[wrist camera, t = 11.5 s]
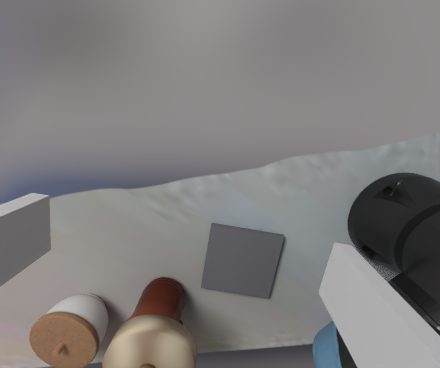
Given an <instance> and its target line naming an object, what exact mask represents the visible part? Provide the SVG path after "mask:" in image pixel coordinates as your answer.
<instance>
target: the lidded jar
mask: <svg viewBox="0 0 440 368" xmlns="http://www.w3.org/2000/svg"><path fill="white" fill-rule="evenodd" d="M108 320H109V319H108V312H107V309H106V306H105V303H104V302H103V300H102V299H101V298H99V297H98V296H96V295H93V294H88V293H86V294H77V295H73V296H69V297H67V298H65V299H63V300H61V301H60V302H58V303H57V304H55V305H54V306H53V307H52V308H51V309H50V310H49V311H47V312H46V313H45V314H44V315H43V316H42V317H41V318H40V319H39V320H38V321H37V322H36V323H35V324H34V325H33V327H32V329H31V331H30V344H31V347H32V349H33V350H34V352H35V353H36V355H37V356H38V357H39V358H40V359H42V360H43V361H44V362H46V363H47V364H49V365H51V366H54V367H57V368H82V367H84V366H86V365H88V364H89V363H90V362H91V361H92V360H93V359H94V358H95V356H96V354H97V352H98V349H99V347H100V345H101V343H102V341H103V339H104V337H105V334H106V331H107V328H108Z"/></svg>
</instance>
